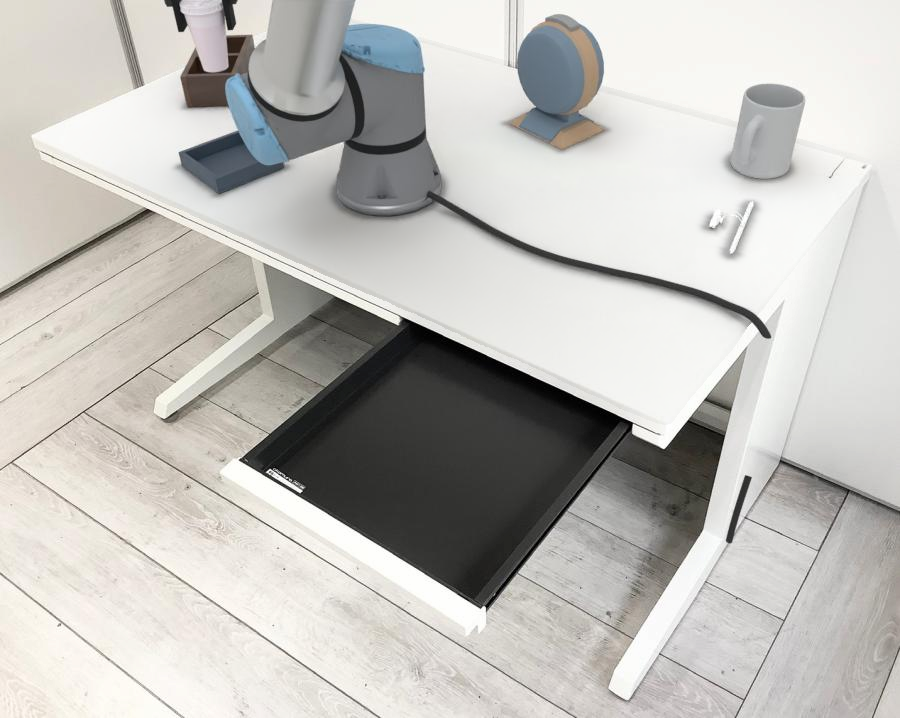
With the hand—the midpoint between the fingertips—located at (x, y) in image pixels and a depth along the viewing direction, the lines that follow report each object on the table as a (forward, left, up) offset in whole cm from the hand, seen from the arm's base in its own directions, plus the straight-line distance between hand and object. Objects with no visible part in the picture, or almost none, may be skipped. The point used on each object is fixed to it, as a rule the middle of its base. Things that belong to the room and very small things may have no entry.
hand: (207, 27), depth 128 cm
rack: (+23, -12, -20) cm, 33 cm away
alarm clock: (-30, -43, -20) cm, 56 cm away
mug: (-60, -54, -20) cm, 83 cm away
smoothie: (0, 0, -6) cm, 6 cm away
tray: (-5, +3, -20) cm, 20 cm away
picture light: (-66, -38, -20) cm, 79 cm away
